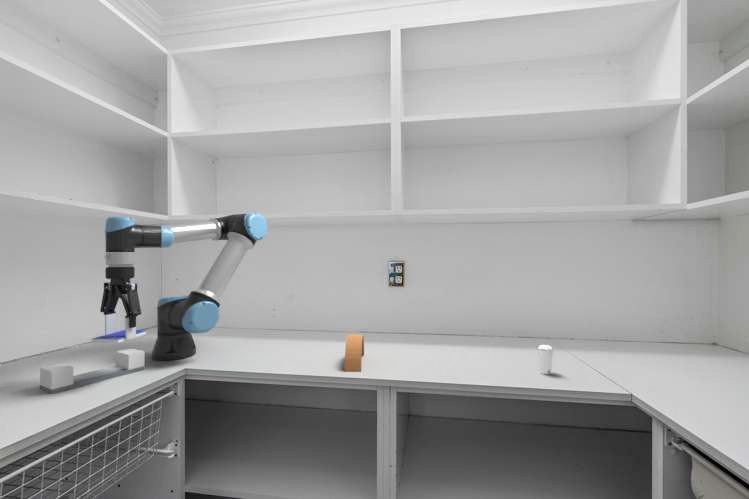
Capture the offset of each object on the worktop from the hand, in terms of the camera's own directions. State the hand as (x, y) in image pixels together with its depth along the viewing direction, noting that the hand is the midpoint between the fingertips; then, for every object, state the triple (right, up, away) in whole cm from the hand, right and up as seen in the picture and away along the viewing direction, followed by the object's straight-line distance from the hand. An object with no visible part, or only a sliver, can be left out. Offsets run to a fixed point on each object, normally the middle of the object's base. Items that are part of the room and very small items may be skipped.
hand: (120, 336), depth 113 cm
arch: (+73, -14, +17) cm, 76 cm away
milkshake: (+137, -13, +5) cm, 137 cm away
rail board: (-9, -14, +1) cm, 16 cm away
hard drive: (0, -1, 0) cm, 1 cm away
